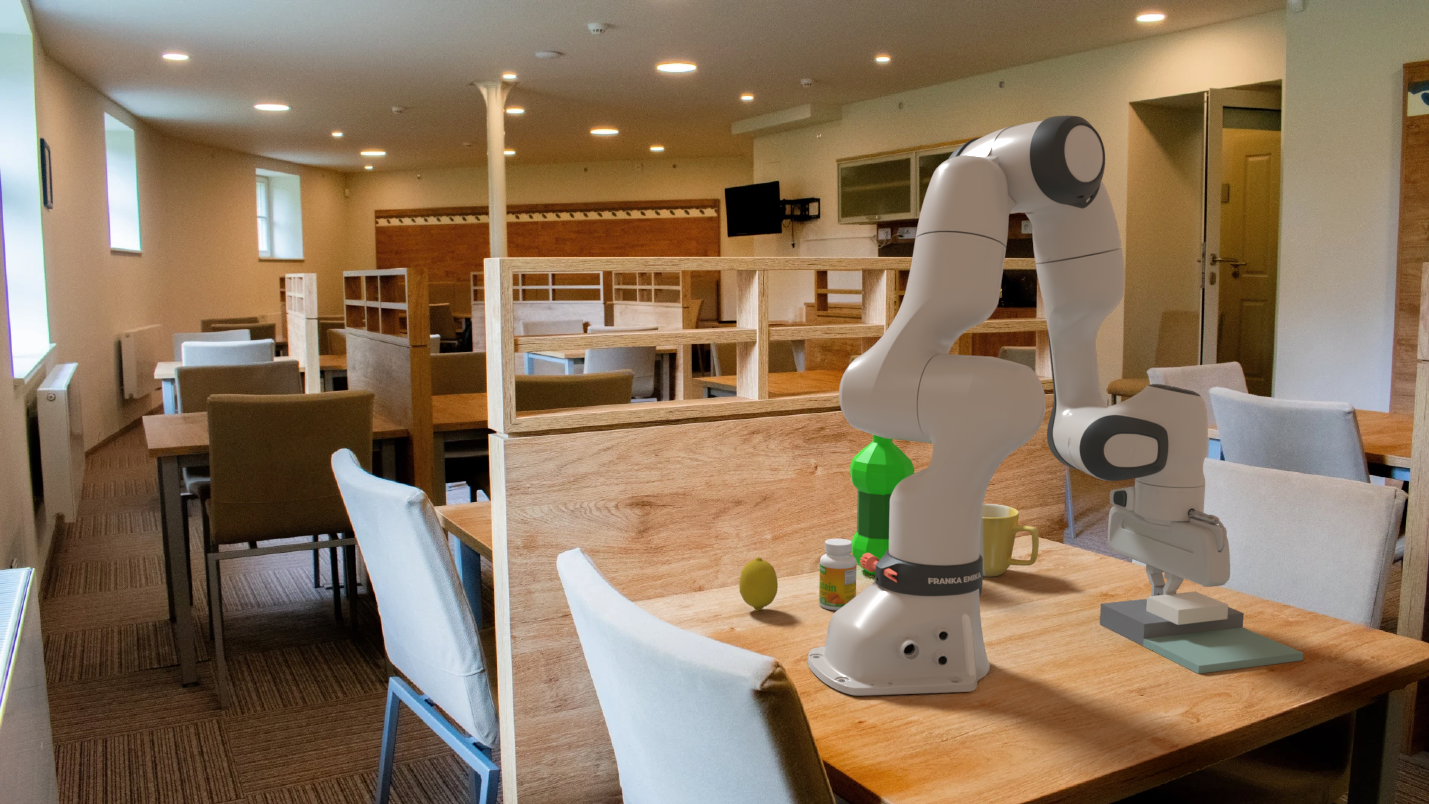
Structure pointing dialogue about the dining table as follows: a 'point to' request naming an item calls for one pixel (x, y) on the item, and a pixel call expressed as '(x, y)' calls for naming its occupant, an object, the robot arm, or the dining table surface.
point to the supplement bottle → (837, 574)
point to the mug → (1002, 539)
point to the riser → (1156, 621)
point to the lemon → (758, 583)
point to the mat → (1222, 650)
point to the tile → (1187, 608)
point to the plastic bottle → (876, 494)
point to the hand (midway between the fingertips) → (1163, 600)
